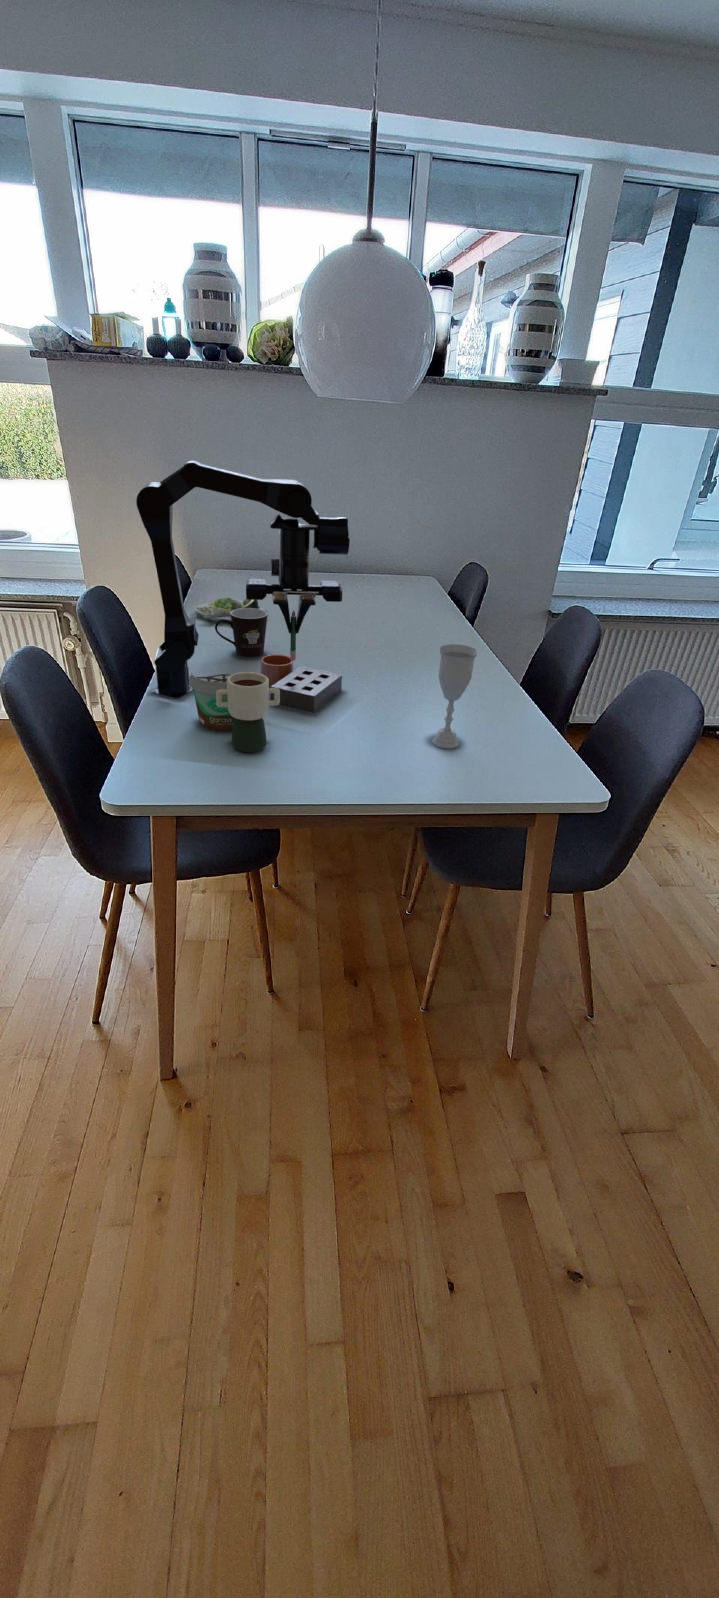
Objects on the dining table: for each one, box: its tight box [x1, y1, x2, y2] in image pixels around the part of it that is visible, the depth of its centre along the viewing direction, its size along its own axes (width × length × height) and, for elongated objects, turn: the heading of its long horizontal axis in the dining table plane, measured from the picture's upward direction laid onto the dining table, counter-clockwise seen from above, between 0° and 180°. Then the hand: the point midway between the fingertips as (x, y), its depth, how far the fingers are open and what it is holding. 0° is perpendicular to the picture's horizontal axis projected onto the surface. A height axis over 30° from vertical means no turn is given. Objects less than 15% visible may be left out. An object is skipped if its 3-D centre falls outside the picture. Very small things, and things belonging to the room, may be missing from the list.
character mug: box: [216, 671, 280, 753], centre depth 120 cm, size 11×7×13 cm, turn 104°
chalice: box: [432, 643, 479, 749], centre depth 126 cm, size 7×7×18 cm
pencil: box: [289, 609, 297, 661], centre depth 140 cm, size 1×1×10 cm
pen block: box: [270, 665, 343, 714], centre depth 143 cm, size 10×14×4 cm
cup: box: [260, 654, 294, 687], centre depth 149 cm, size 7×7×5 cm
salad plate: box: [194, 597, 269, 623], centre depth 189 cm, size 19×18×5 cm
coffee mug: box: [214, 608, 269, 658], centre depth 162 cm, size 12×9×10 cm
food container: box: [189, 670, 254, 733], centre depth 127 cm, size 12×6×10 cm, turn 105°
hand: (293, 632), depth 140 cm, fingers closed on pencil, 1 cm apart
